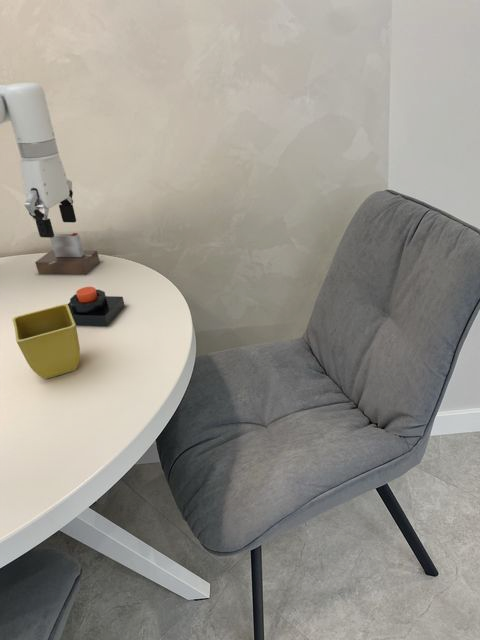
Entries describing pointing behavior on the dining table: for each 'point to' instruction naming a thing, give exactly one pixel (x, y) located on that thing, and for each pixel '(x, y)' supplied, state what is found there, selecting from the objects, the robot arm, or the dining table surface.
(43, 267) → the base
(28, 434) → the dining table surface
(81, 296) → the button
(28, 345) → the flower pot
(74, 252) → the tap lever
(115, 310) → the button block
